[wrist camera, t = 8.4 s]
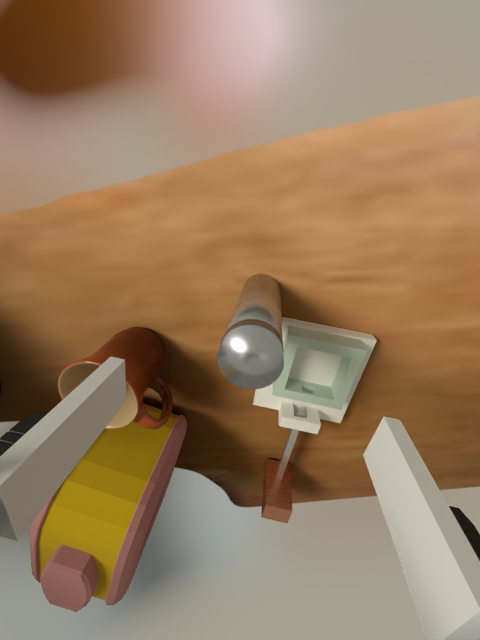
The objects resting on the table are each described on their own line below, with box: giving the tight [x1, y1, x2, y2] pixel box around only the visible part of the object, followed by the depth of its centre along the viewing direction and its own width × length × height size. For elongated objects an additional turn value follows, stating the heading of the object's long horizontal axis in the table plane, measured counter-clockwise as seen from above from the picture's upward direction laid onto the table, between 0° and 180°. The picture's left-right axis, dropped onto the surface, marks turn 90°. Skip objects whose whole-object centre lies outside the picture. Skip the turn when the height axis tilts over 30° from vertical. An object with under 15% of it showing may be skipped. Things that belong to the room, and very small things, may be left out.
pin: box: [262, 407, 305, 523], centre depth 36 cm, size 4×16×7 cm, turn 171°
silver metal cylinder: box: [217, 274, 284, 389], centre depth 24 cm, size 4×4×15 cm
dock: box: [253, 317, 377, 434], centre depth 32 cm, size 12×13×4 cm
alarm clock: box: [29, 404, 187, 612], centre depth 34 cm, size 18×11×19 cm, turn 162°
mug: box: [58, 327, 173, 430], centre depth 32 cm, size 12×9×10 cm
